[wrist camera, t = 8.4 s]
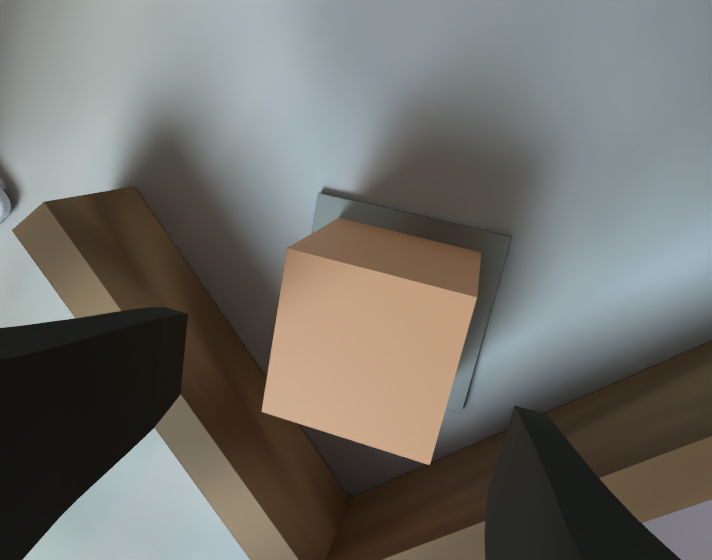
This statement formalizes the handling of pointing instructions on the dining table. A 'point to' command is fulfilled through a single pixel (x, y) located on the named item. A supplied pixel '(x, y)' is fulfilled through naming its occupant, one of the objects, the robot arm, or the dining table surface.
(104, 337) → the robot arm
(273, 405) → the cube
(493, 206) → the dining table surface
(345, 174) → the dining table surface
